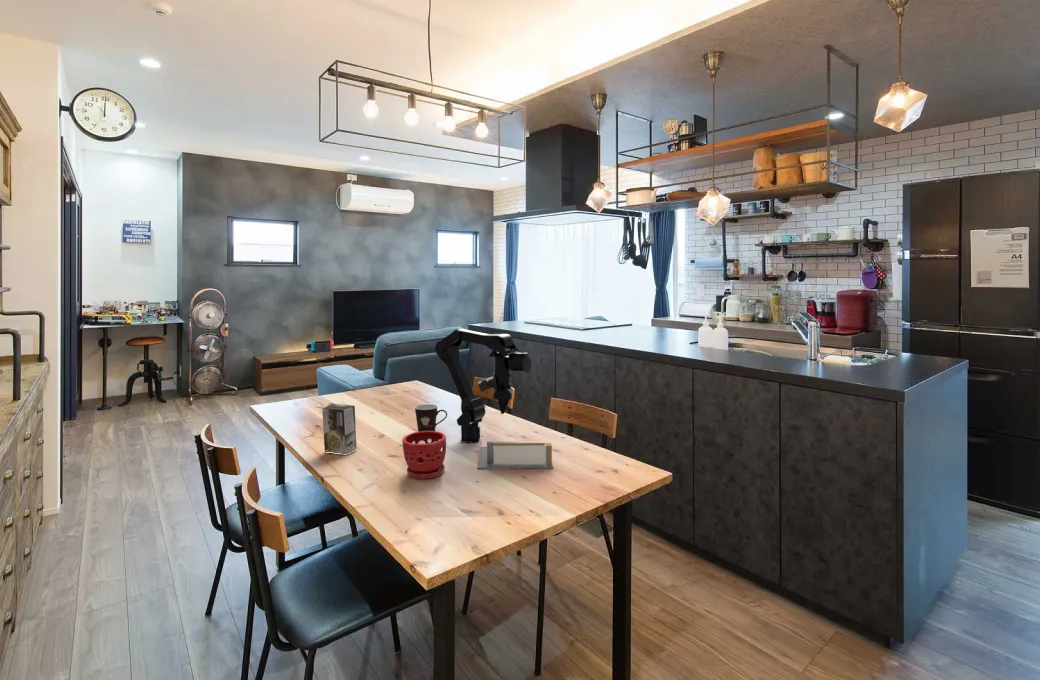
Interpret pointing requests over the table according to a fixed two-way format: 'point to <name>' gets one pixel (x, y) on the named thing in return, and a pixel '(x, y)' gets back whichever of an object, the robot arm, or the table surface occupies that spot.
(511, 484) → the table surface
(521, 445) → the gate
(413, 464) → the plant pot
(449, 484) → the table surface
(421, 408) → the coffee mug
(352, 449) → the coffee box
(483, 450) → the gate frame
